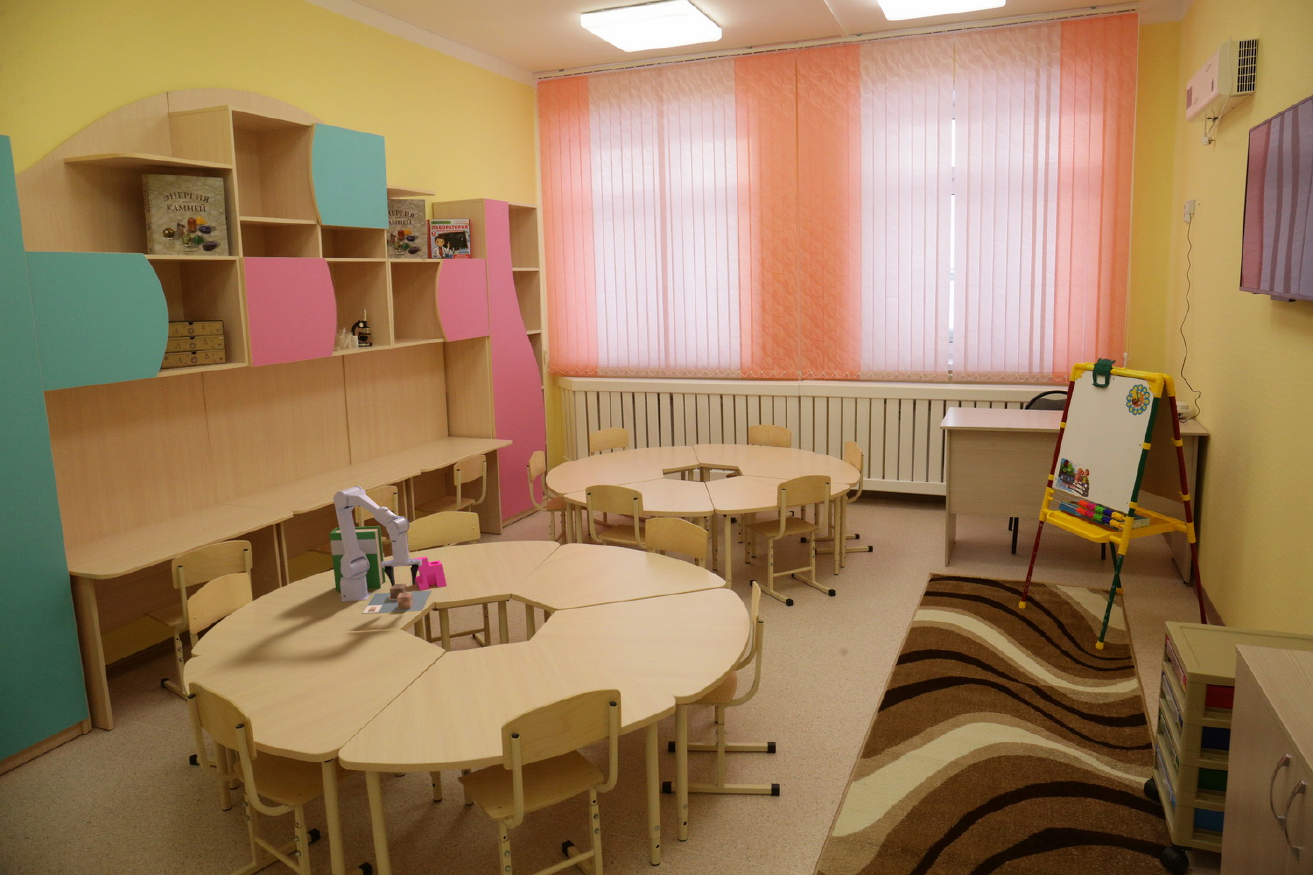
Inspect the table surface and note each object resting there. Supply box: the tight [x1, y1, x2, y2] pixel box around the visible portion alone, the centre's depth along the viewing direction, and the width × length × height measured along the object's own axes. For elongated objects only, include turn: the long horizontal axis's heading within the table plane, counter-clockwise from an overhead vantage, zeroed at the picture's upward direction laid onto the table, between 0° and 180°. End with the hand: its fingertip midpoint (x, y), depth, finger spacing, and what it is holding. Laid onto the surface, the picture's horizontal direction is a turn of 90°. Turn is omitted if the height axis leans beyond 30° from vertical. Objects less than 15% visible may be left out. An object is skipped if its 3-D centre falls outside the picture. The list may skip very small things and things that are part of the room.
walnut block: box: [389, 583, 408, 599], centre depth 345 cm, size 5×5×4 cm
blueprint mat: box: [361, 590, 432, 615], centre depth 339 cm, size 22×20×1 cm
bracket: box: [413, 555, 447, 591], centre depth 357 cm, size 12×10×10 cm
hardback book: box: [329, 525, 387, 592], centre depth 356 cm, size 18×7×24 cm, turn 90°
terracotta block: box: [397, 593, 413, 609], centre depth 334 cm, size 4×4×4 cm
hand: (403, 584), depth 333 cm, fingers open, 7 cm apart
